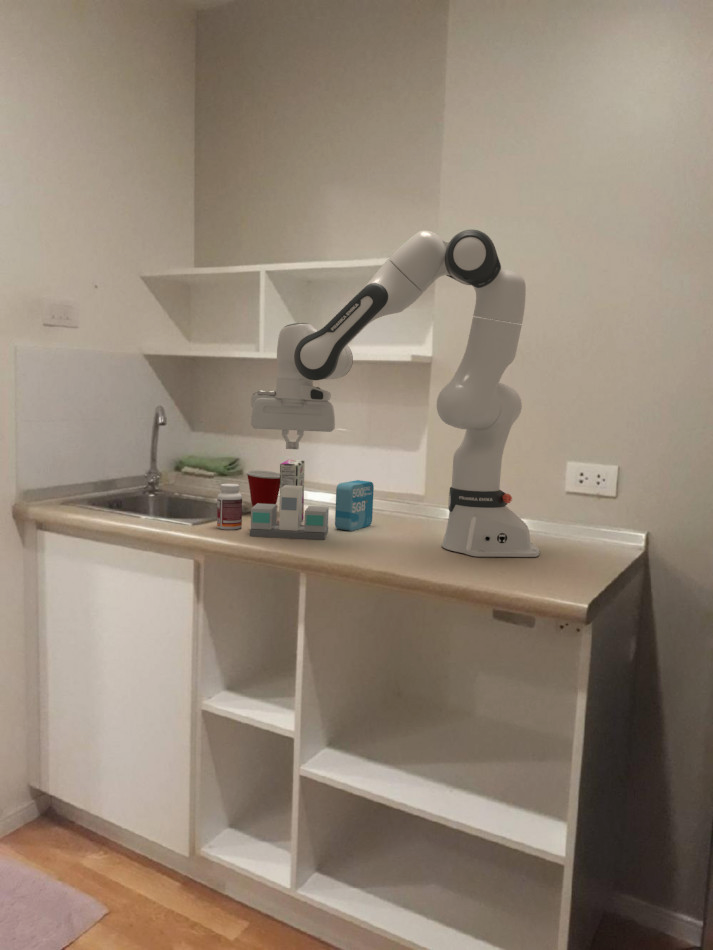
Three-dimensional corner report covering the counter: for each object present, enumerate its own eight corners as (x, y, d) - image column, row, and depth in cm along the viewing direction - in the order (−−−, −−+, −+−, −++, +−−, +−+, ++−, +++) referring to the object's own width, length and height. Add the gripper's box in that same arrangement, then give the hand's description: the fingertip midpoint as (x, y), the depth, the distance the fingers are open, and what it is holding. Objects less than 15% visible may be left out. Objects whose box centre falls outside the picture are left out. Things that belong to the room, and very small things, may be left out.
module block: (301, 525, 186) (302, 486, 185) (297, 530, 179) (298, 489, 178) (283, 524, 187) (284, 485, 185) (278, 530, 179) (280, 489, 178)
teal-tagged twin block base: (328, 532, 188) (329, 506, 187) (324, 539, 178) (325, 512, 177) (257, 528, 189) (258, 502, 188) (249, 536, 179) (250, 509, 178)
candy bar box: (285, 518, 205) (287, 459, 203) (303, 519, 204) (305, 459, 202) (277, 525, 194) (279, 462, 192) (296, 526, 193) (298, 463, 191)
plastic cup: (273, 519, 203) (274, 475, 201) (238, 515, 206) (238, 472, 205) (289, 513, 213) (291, 471, 211) (255, 509, 216) (256, 469, 215)
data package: (349, 532, 189) (351, 485, 188) (334, 529, 191) (336, 483, 190) (372, 525, 199) (374, 481, 198) (357, 523, 202) (359, 479, 200)
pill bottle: (246, 527, 189) (247, 484, 188) (231, 531, 184) (232, 487, 182) (227, 524, 192) (228, 482, 191) (211, 528, 187) (212, 484, 185)
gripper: (248, 390, 176) (247, 448, 178) (334, 393, 175) (332, 452, 177) (253, 390, 183) (252, 446, 184) (336, 393, 182) (334, 449, 183)
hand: (292, 449), depth 181 cm, fingers closed
